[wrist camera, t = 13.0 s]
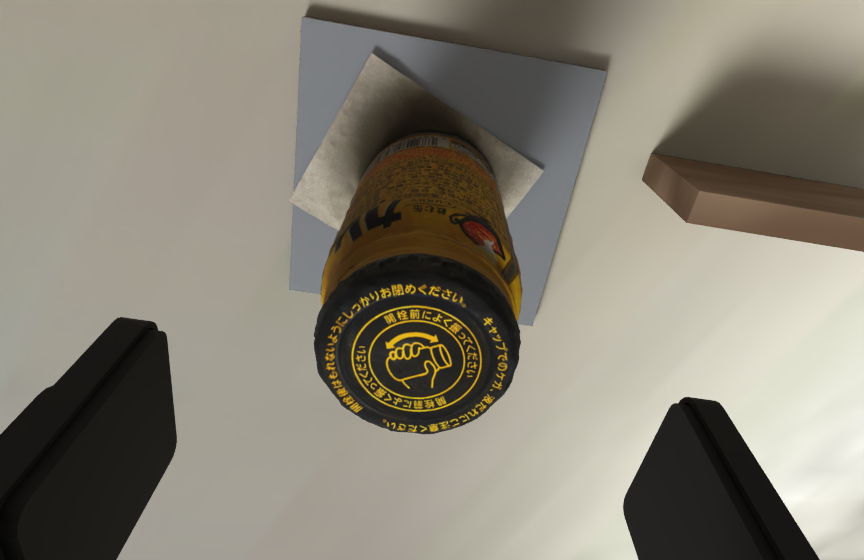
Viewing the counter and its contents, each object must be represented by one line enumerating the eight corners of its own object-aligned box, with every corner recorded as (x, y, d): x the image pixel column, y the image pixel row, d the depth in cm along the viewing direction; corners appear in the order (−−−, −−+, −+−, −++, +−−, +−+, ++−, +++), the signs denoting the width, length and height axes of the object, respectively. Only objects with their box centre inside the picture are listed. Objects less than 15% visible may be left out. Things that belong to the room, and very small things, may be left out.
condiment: (447, 293, 26) (450, 497, 16) (289, 199, 24) (169, 362, 14) (543, 169, 23) (625, 317, 13) (372, 51, 21) (301, 111, 11)
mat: (304, 16, 21) (301, 17, 21) (604, 70, 22) (607, 71, 22) (291, 284, 27) (289, 289, 26) (530, 320, 28) (532, 326, 27)
